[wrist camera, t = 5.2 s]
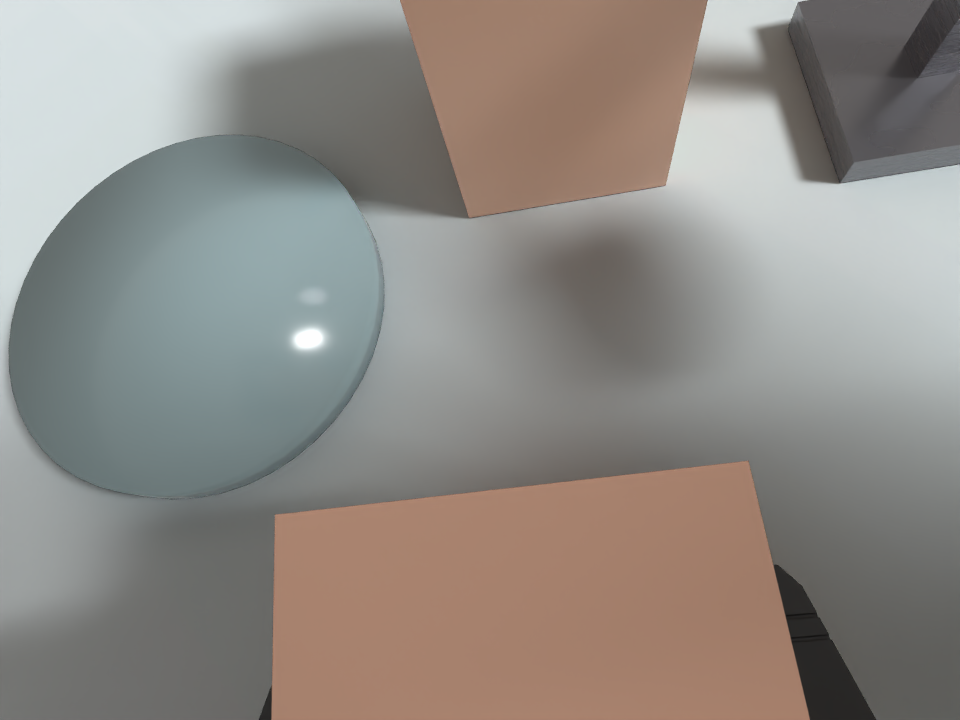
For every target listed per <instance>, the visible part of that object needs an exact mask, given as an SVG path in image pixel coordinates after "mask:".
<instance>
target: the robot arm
mask: <svg viewBox="0 0 960 720" xmlns="http://www.w3.org/2000/svg"><path fill="white" fill-rule="evenodd" d="M773 566H774V570H775V574H776V579H777V583H778V587H779V591H780V596H781V600H782V604H783V608H784V612H785V617H786V621H787V625H788V629H789V633H790V638H791V642H792V646H793V650H794V654H795V659H796V663H797V667H798V671H799V675H800V680H801V684H802V688H803V692H804V697H805V701H806V705H807V709H808V713H809V718H810V720H876V719H875V717H874V715H873V713H872V712H871V710H870V708H869V706H868V704H867V703H866V701H865V699H864V697H863V695H862V694H861V692H860V690H859V688H858V686H857V685H856V683H855V681H854V679H853V677H852V675H851V674H850V672H849V670H848V668H847V666H846V665H845V663H844V661H843V659H842V657H841V656H840V654H839V652H838V650H837V648H836V647H835V645H834V643H833V641H832V640H830V638H829V634H828V632H827V630H826V629H825V627H824V625H823V623H822V621H821V620H820V618H818V617H817V612H816V610H815V609H814V607H813V605H812V603H811V601H810V600H809V598H808V596H807V594H806V592H805V591H804V589H803V587H802V586H801V585H800V584H799V583H798V582H797V581H796V580H794V579H793V578H792V577H791V576H790V575H789V574H787V573H786V572H785V571H784V570H783V569H782V568H781V567H779V566H778V565H773ZM271 719H272V686H271V689H270V691H269V694H268V697H267V699H266V702H265V705H264V707H263V710H262V713H261V715H260V718H259V720H271Z"/></svg>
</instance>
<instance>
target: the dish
mask: <svg viewBox="0 0 960 720" xmlns="http://www.w3.org/2000/svg"><path fill="white" fill-rule="evenodd" d="M383 310H384V277H383V269H382V262H381V258H380V254H379V251H378V247H377V243H376V241H375V239H374V236H373V234H372V232H371V230H370V227H369V225H368V223H367V222H366V220H365V218H364V217H363V215H362V214H361V212H360V210H359V209H358V207H357V205H356V204H355V202H354V201H353V199H352V198H351V196H350V195H349V193H348V191H347V190H346V188H345V187H344V186H343V185H342V183H341V182H340V181H339V180H338V179H337V178H336V177H335V176H334V175H333V174H332V172H331V171H329V170H328V169H327V168H326V167H324V166H323V165H322V164H321V163H319V162H318V161H317V160H316V159H314V158H312V157H311V156H309V155H307V154H305V153H304V152H302V151H300V150H299V149H296V148H294V147H291V146H289V145H286V144H284V143H281V142H278V141H274V140H270V139H266V138H262V137H254V136H245V135H216V136H208V137H201V138H195V139H191V140H187V141H183V142H179V143H175V144H172V145H169V146H167V147H164V148H161V149H158V150H156V151H153V152H151V153H149V154H147V155H145V156H143V157H141V158H139V159H136V160H134V161H133V162H131V163H129V164H128V165H126V166H124V167H123V168H121V169H119V170H118V171H116V172H114V173H113V174H112V175H110V176H109V177H108V178H106V179H105V180H104V181H102V182H101V183H99V184H98V185H97V186H95V187H94V188H93V189H92V190H91V191H90V192H89V193H88V194H86V195H85V196H84V197H83V198H82V199H81V200H80V201H79V202H78V203H77V204H76V205H75V206H74V207H73V208H72V209H71V210H70V211H69V212H68V213H67V215H66V216H65V217H64V218H63V219H62V220H61V221H60V223H59V224H58V225H57V226H56V228H55V229H54V230H53V232H52V233H51V234H50V236H49V237H48V238H47V240H46V241H45V243H44V245H43V246H42V248H41V250H40V251H39V253H38V255H37V256H36V258H35V259H34V261H33V264H32V266H31V268H30V270H29V272H28V274H27V276H26V278H25V280H24V283H23V286H22V288H21V291H20V294H19V297H18V300H17V302H16V307H15V311H14V315H13V319H12V324H11V331H10V341H9V372H10V378H11V384H12V391H13V394H14V398H15V401H16V404H17V407H18V410H19V413H20V415H21V417H22V419H23V421H24V423H25V425H26V427H27V429H28V431H29V432H30V434H31V435H32V437H33V438H34V439H35V441H36V442H37V443H38V445H39V446H40V447H41V449H42V450H43V451H44V452H45V453H46V454H47V455H48V456H49V457H50V458H51V459H53V460H54V461H55V462H56V463H57V464H58V465H59V466H61V467H62V468H64V469H65V470H67V471H68V472H70V473H71V474H73V475H74V476H76V477H78V478H80V479H82V480H84V481H86V482H89V483H91V484H93V485H95V486H98V487H102V488H105V489H109V490H113V491H117V492H121V493H127V494H134V495H140V496H146V497H155V498H165V499H187V498H199V497H205V496H210V495H215V494H220V493H224V492H227V491H230V490H233V489H236V488H239V487H242V486H245V485H247V484H250V483H252V482H254V481H256V480H258V479H260V478H262V477H264V476H266V475H268V474H270V473H272V472H274V471H275V470H277V469H278V468H280V467H281V466H283V465H285V464H286V463H288V462H289V461H291V460H292V459H294V458H295V457H296V456H297V455H299V454H300V453H301V452H302V451H304V450H305V449H306V448H307V447H308V446H310V445H311V444H312V443H313V442H314V441H315V440H316V439H317V438H318V437H319V436H320V435H321V434H322V433H323V432H324V431H325V430H326V429H327V428H328V427H329V426H330V425H331V424H332V423H333V422H334V420H335V419H336V418H337V416H338V415H339V414H340V412H341V411H342V410H343V409H344V407H345V406H346V405H347V403H348V402H349V401H350V399H351V397H352V396H353V394H354V392H355V390H356V389H357V387H358V385H359V384H360V382H361V380H362V379H363V377H364V374H365V372H366V370H367V367H368V365H369V363H370V361H371V358H372V356H373V353H374V350H375V346H376V343H377V340H378V336H379V333H380V328H381V322H382V316H383Z"/></svg>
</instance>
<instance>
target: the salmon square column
mask: <svg viewBox="0 0 960 720" xmlns="http://www.w3.org/2000/svg"><path fill="white" fill-rule="evenodd" d="M707 1H708V0H400V2H401V5H402V8H403V11H404V14H405V17H406V21H407V24H408V27H409V30H410V33H411V36H412V39H413V43H414V46H415V49H416V52H417V55H418V58H419V62H420V65H421V68H422V71H423V74H424V77H425V80H426V84H427V87H428V90H429V93H430V96H431V99H432V102H433V106H434V109H435V112H436V115H437V118H438V121H439V125H440V128H441V131H442V134H443V137H444V140H445V143H446V147H447V150H448V153H449V156H450V159H451V162H452V165H453V169H454V172H455V175H456V178H457V181H458V184H459V188H460V191H461V194H462V197H463V200H464V203H465V206H466V210H467V213H468V216H469V218H472V217H478V216H484V215H490V214H496V213H503V212H509V211H515V210H521V209H527V208H533V207H539V206H545V205H551V204H557V203H563V202H569V201H575V200H581V199H587V198H593V197H599V196H605V195H611V194H617V193H623V192H629V191H635V190H641V189H647V188H653V187H659V186H665V185H666V182H667V177H668V173H669V168H670V164H671V160H672V155H673V151H674V146H675V142H676V138H677V133H678V129H679V124H680V120H681V116H682V111H683V107H684V102H685V98H686V94H687V89H688V85H689V80H690V76H691V72H692V67H693V63H694V58H695V54H696V50H697V45H698V41H699V36H700V32H701V28H702V23H703V19H704V14H705V10H706V6H707Z"/></svg>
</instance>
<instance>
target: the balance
mask: <svg viewBox="0 0 960 720" xmlns="http://www.w3.org/2000/svg"><path fill="white" fill-rule="evenodd" d="M788 30H789V33H790V36H791V39H792V42H793V45H794V48H795V51H796V54H797V57H798V60H799V63H800V66H801V69H802V72H803V75H804V78H805V81H806V84H807V87H808V90H809V93H810V95H811V98H812V101H813V104H814V107H815V110H816V113H817V116H818V119H819V122H820V125H821V128H822V131H823V134H824V137H825V140H826V143H827V146H828V149H829V152H830V155H831V158H832V161H833V164H834V167H835V170H836V172H837V175H838V178H839V181H840V183H844V182H850V181H856V180H862V179H868V178H875V177H881V176H887V175H893V174H899V173H906V172H912V171H918V170H924V169H930V168H937V167H943V166H949V165H955V164H960V0H808V1H802V2H798V4H797V6H796V9H795V11H794V14H793V17H792V19H791V22H790V24H789V27H788Z"/></svg>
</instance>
